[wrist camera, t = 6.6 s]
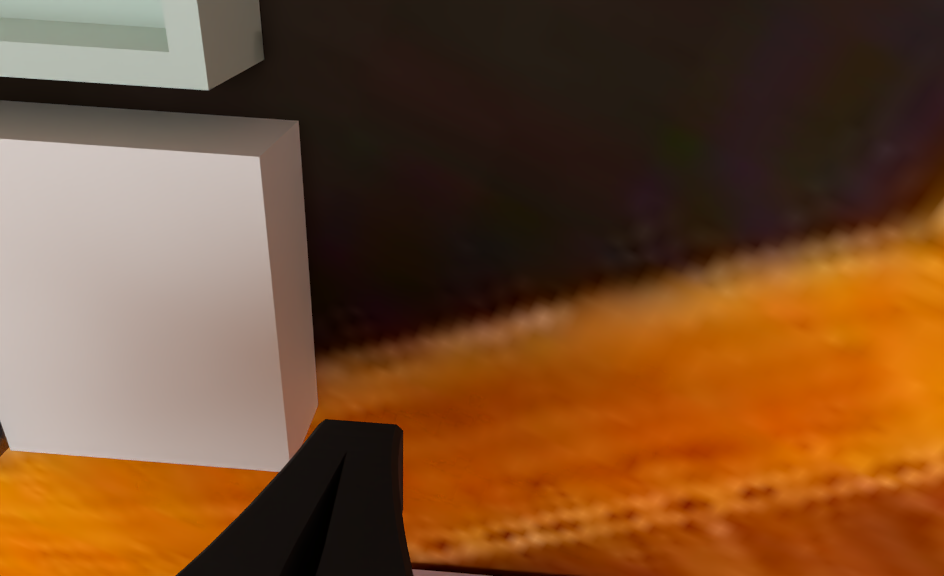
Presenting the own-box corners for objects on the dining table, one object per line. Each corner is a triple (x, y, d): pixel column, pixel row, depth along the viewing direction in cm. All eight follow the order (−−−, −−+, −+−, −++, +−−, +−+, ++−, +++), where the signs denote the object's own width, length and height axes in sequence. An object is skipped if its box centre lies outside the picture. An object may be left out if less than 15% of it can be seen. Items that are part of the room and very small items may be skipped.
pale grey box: (321, 397, 19) (290, 472, 17) (79, 378, 19) (10, 450, 17) (302, 116, 15) (259, 156, 13) (1, 95, 16) (-104, 131, 13)
